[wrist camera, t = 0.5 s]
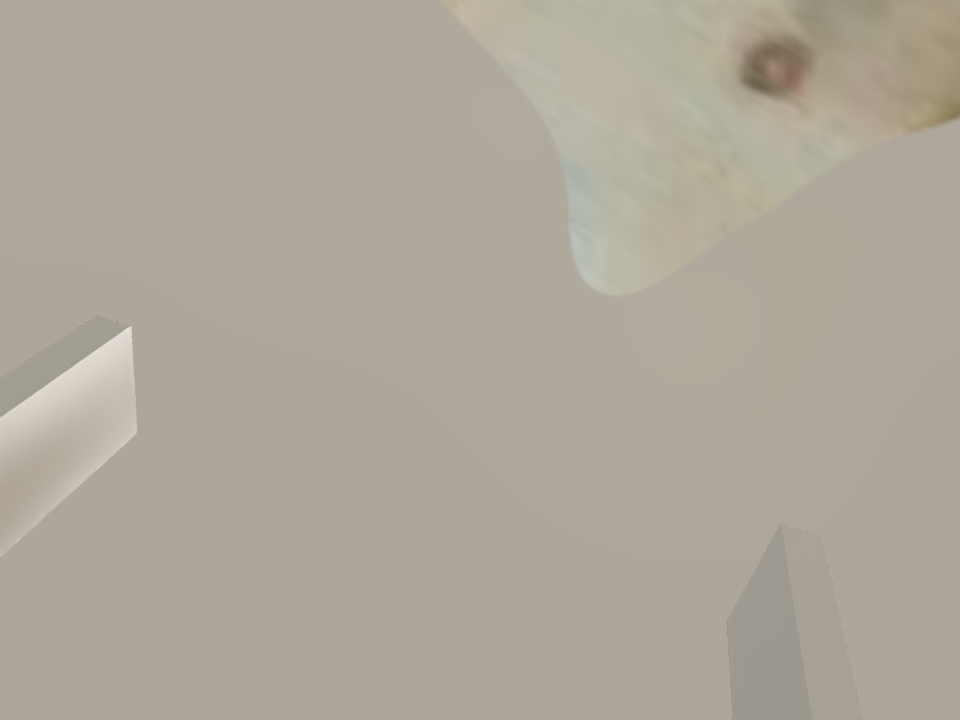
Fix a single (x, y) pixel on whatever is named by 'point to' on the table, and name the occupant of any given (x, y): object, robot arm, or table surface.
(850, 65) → the table surface
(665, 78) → the table surface
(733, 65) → the table surface
